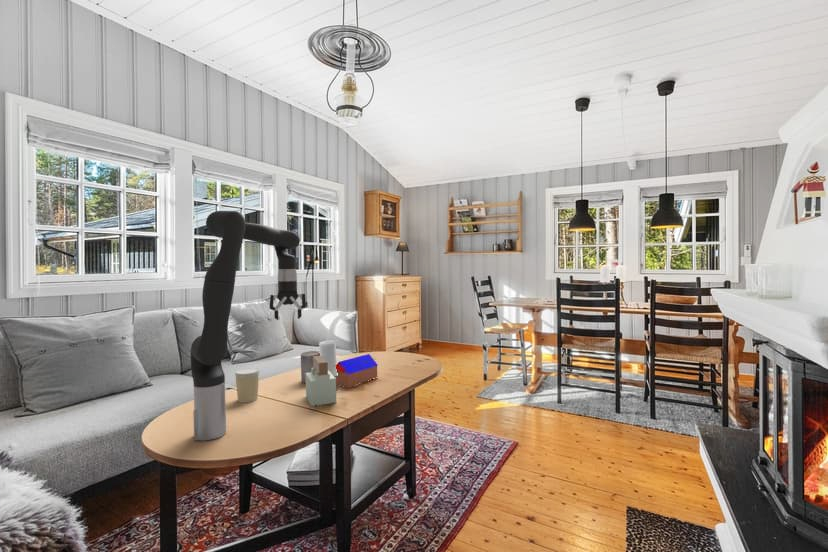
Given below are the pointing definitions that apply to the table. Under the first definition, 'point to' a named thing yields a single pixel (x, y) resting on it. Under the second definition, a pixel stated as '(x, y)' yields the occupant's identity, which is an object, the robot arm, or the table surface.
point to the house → (356, 370)
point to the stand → (320, 388)
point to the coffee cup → (247, 384)
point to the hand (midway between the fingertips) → (288, 319)
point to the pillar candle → (307, 363)
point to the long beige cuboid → (320, 365)
